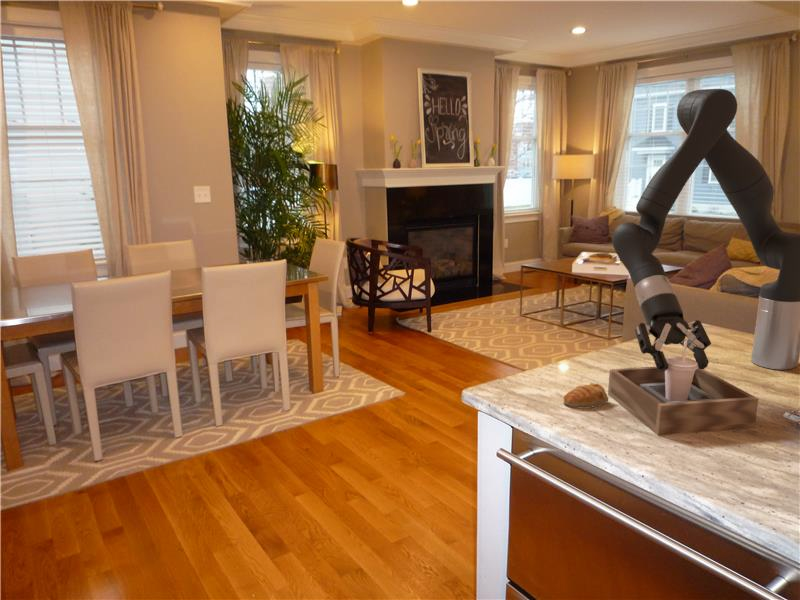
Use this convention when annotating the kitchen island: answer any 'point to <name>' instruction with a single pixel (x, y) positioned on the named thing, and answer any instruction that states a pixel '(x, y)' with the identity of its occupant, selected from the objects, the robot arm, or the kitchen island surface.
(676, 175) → the robot arm
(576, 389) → the pastry
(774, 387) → the kitchen island surface
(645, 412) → the crate
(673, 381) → the smoothie
